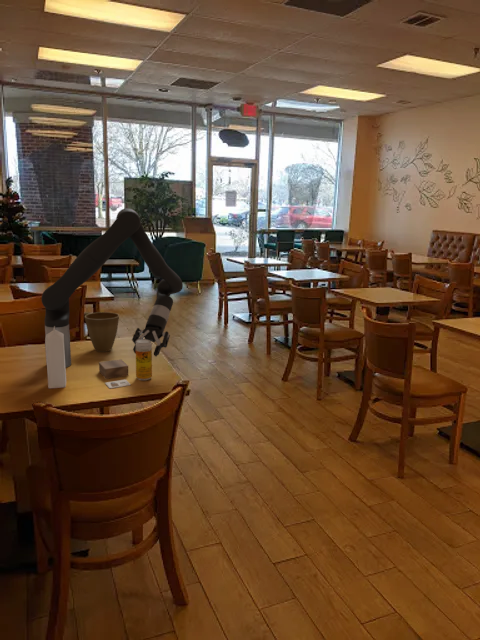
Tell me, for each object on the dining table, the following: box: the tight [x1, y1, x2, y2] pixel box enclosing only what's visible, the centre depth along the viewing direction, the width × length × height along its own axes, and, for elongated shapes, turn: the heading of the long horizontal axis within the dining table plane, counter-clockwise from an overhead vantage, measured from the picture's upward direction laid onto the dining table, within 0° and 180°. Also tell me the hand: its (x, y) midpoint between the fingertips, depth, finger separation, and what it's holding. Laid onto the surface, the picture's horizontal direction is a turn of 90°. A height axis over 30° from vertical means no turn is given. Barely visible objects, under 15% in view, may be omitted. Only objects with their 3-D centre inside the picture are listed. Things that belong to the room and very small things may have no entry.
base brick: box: [98, 358, 129, 380], centre depth 200 cm, size 9×9×4 cm
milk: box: [44, 326, 67, 389], centre depth 184 cm, size 6×6×22 cm
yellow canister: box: [134, 338, 153, 381], centre depth 195 cm, size 6×6×15 cm
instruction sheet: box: [104, 378, 131, 390], centre depth 189 cm, size 8×6×1 cm
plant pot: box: [84, 311, 120, 353], centre depth 228 cm, size 15×15×16 cm
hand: (145, 354), depth 195 cm, fingers open, 8 cm apart
